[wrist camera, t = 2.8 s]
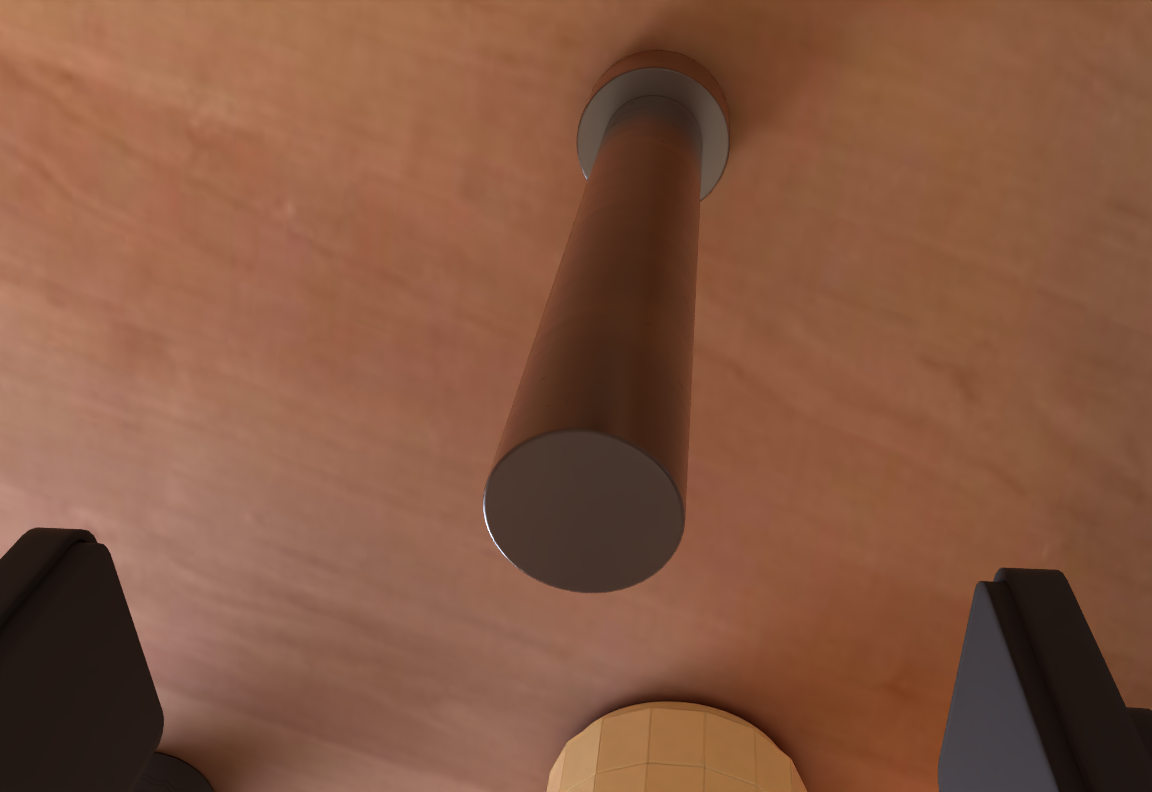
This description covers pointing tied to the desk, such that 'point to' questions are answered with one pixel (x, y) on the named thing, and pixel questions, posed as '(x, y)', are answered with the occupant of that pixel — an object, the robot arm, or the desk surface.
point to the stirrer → (615, 341)
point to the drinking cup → (170, 777)
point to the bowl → (672, 754)
